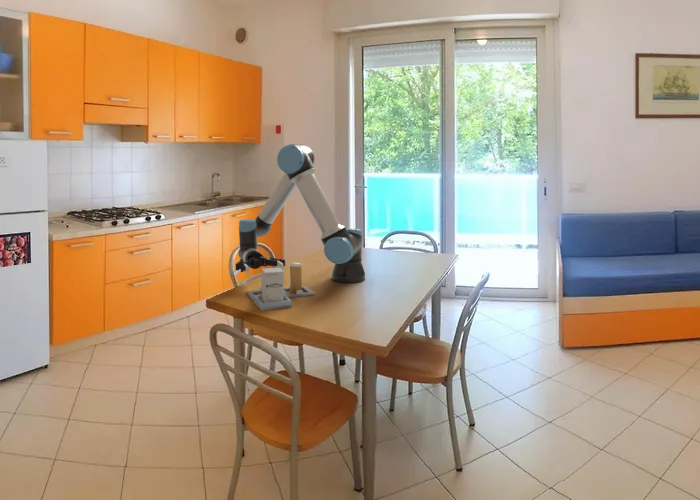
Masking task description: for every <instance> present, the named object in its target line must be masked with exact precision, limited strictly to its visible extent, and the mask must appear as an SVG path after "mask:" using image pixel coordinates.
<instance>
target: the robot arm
mask: <svg viewBox="0 0 700 500" xmlns="http://www.w3.org/2000/svg"><path fill="white" fill-rule="evenodd" d="M276 161H277V162H276V163H277V166H278V168H279V169H280V170H281V171H282V172H283V173H284V174H283V175H282V177H281V178H280V180H279V182H277V185H276V187H275V188H274V189H273V191H272V192H271V194H270V195H269V197H268V198H267V200H266V201H265V203H264V205H263V206H262V208H261V210H260V212H259V213H258V215H257V216H256V217H255V219H254V218H242V219H239V221H238V233H239V235H238V237H239V248H238V252H237V253H238V256H239V261H237V262H236V263H235V271H239V270H240V272H241V273H244V272H245V274H247V275H250V268H251V269H253V270H257V269H259V268H261V267H268V266H269V267H275V268H281V269H282V270H283V272H284V267H286V260H285V259H282V258H276V257H274V256H269V258H268V257H264V255H263V253H262V252H261V251H259V250H258V240H257V239H258V238H261V237H264V236H266V235H267V234H269V232H270V231H271V229H272V225H273V223H274V221H275V220H276V219H277V217H278V216H279V214H280V212H281V211H282V210H283V208H284V206H285V205H286V203H287V201H288V200H289V198H290V197H291V195H292V194H293V192H294V191H295V189H296V188H298V190H299V192H300V195H301V196H302V198H303V200H304V203H305V204H306V206H307V208H308V210H309V212H310V214H311V215H312V218H313V219H314V222H315V223H316V225H317V227H318V229H319V231H320V233H321V237H320V241H321V242H322V245H323V246H324V248H323V252H324V256H325V257H326V259H327V260H328V261H329V262H331V263H333V264H334V266H333V268H332V273H331V279H332V280H333V281H335V282H338V283H339V282H340V283H359V282H362V281H365V279H366V272H365V269H364V265H363V263H362V253H363V252H362V249H363V247H362V245H363V232H362V229H359V228H347V227H346V226H345V225H342V224H340V222H339V219H338V218H337V216H336V213H335V212H334V210H333V208H332V207H331V204H330V203H329V200H328V198H327V197H326V195H325V193H324V190H323V189H322V187H321V186H320V183H319V181H318V180H317V177H316V176H315V170H316V168H315V166H314V164H315V154H314V152H313V150H312V149H311V148H310V147H309V146H308V145H304V144H295V143H290V144H287V145H285V146H283V147H282V148H281V149H280V150H279V151H278V154H277V157H276Z"/></svg>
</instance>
